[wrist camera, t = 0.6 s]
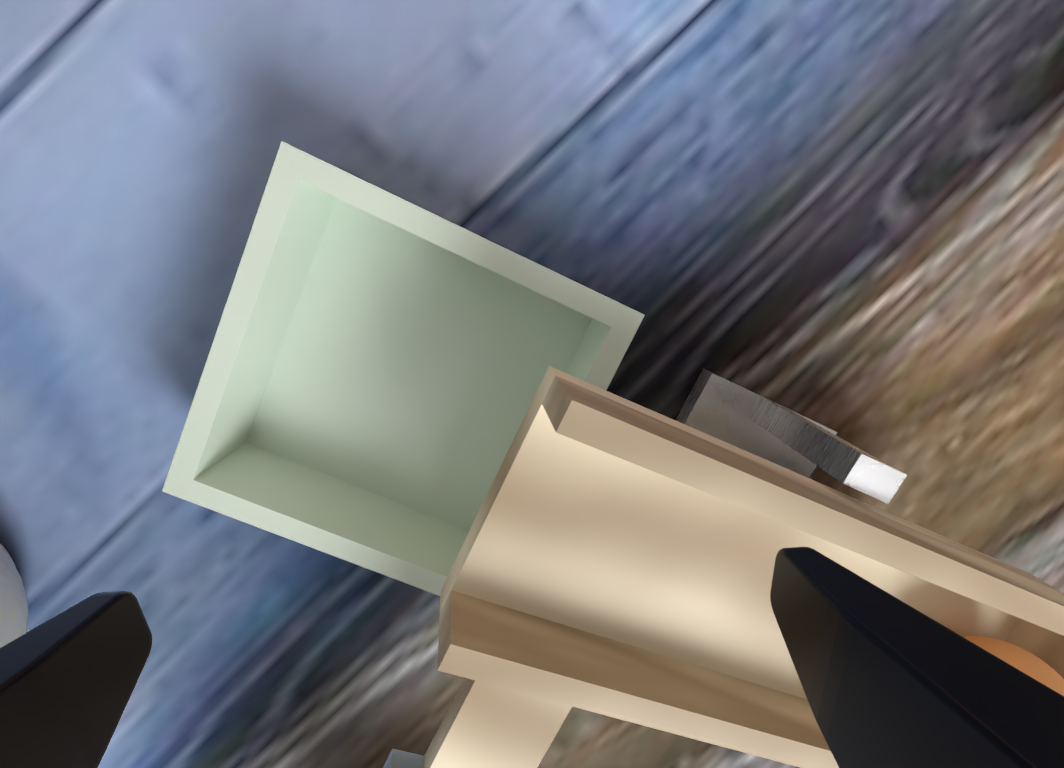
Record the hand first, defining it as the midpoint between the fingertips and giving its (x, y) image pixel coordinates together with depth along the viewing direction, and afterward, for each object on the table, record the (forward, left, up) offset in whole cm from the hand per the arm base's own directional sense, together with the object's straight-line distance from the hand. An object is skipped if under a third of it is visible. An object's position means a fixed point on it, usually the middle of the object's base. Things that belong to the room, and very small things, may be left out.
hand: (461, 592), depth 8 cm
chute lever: (-6, -10, -11) cm, 16 cm away
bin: (-1, +3, -15) cm, 15 cm away
